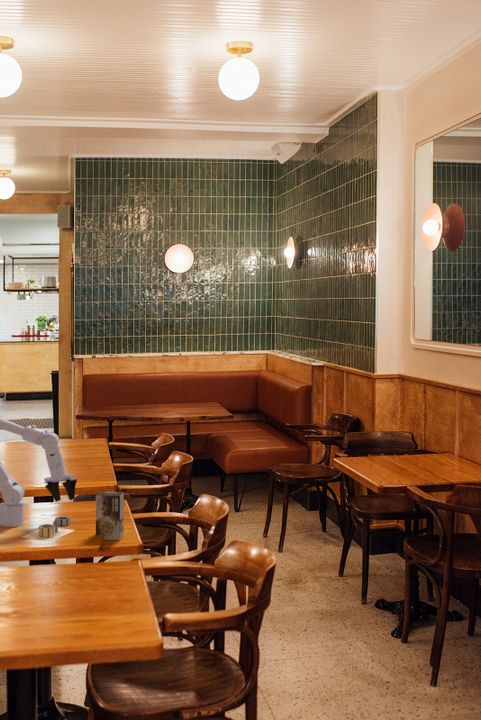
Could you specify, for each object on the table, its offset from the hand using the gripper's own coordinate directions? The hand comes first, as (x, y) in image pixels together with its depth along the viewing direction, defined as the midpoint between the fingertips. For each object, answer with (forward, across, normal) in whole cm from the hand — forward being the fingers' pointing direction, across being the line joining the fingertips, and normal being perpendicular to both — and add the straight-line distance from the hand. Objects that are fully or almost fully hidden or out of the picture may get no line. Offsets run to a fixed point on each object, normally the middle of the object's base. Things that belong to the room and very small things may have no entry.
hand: (65, 500), depth 305 cm
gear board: (+9, -2, +14) cm, 17 cm away
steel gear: (+10, +4, +1) cm, 11 cm away
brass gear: (+8, -4, +16) cm, 19 cm away
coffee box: (+15, -19, +2) cm, 25 cm away
